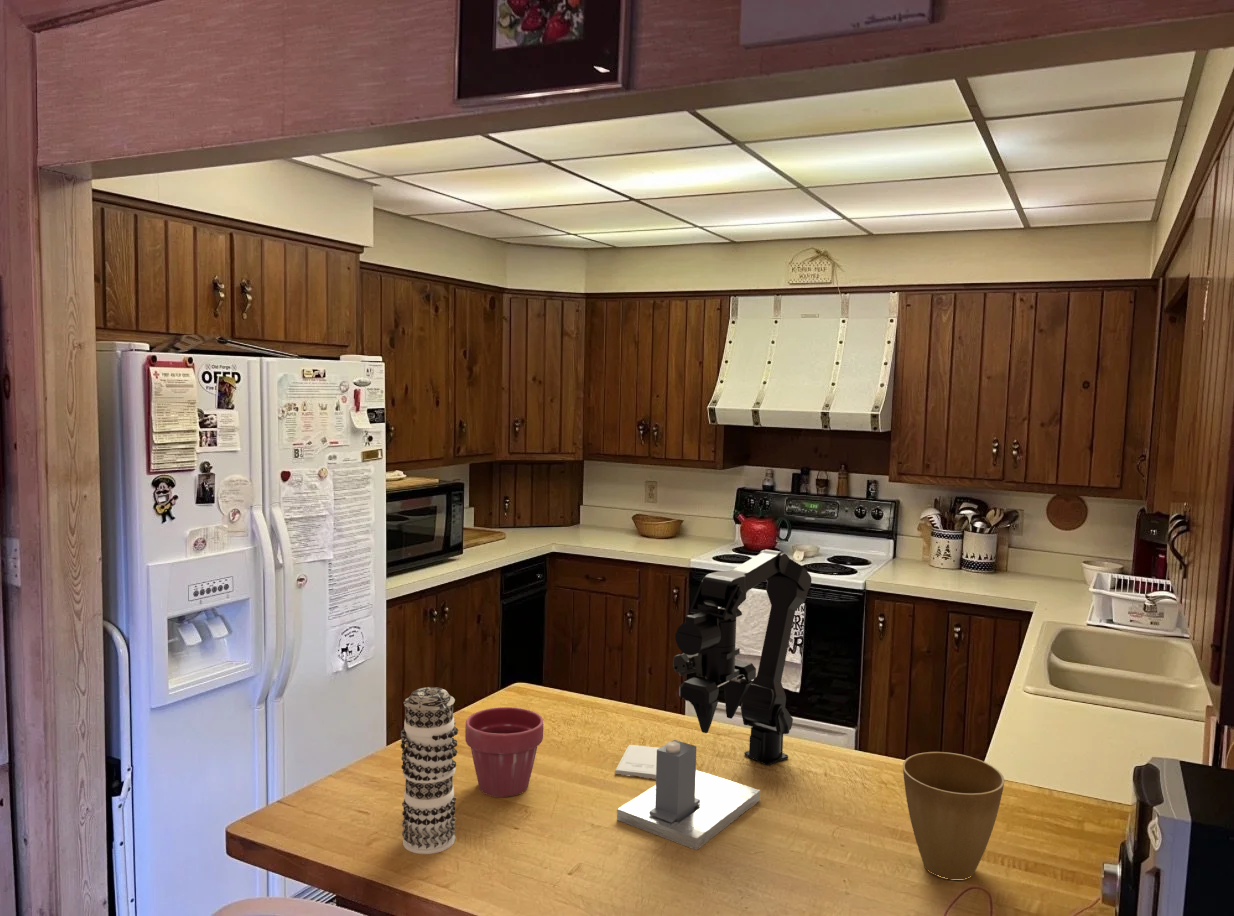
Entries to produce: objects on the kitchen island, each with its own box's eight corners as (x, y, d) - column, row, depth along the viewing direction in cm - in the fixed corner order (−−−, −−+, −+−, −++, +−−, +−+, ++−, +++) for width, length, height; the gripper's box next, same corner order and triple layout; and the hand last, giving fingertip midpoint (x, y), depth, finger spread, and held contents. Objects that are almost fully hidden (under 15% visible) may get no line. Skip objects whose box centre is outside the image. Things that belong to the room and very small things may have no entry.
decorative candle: (457, 825, 154) (458, 681, 152) (457, 853, 145) (458, 700, 143) (402, 828, 153) (402, 683, 150) (398, 857, 143) (398, 703, 141)
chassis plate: (684, 776, 175) (685, 766, 174) (759, 800, 165) (760, 790, 165) (616, 820, 157) (617, 808, 157) (696, 850, 147) (696, 838, 147)
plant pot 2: (905, 836, 153) (910, 744, 152) (1001, 858, 147) (1007, 763, 145) (890, 879, 140) (895, 779, 138) (995, 906, 133) (1001, 801, 132)
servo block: (678, 807, 162) (680, 731, 161) (699, 814, 159) (702, 737, 158) (648, 826, 155) (650, 747, 154) (671, 835, 152) (673, 754, 151)
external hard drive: (667, 756, 185) (656, 782, 173) (628, 751, 187) (614, 777, 175) (667, 748, 185) (656, 773, 173) (628, 744, 187) (614, 769, 175)
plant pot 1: (533, 766, 178) (533, 702, 177) (550, 798, 164) (551, 729, 163) (459, 775, 173) (460, 709, 172) (471, 808, 160) (472, 738, 159)
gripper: (708, 624, 180) (705, 701, 181) (655, 646, 165) (653, 729, 166) (758, 635, 173) (755, 714, 175) (708, 658, 158) (706, 745, 160)
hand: (717, 725), depth 169 cm, fingers open, 9 cm apart
